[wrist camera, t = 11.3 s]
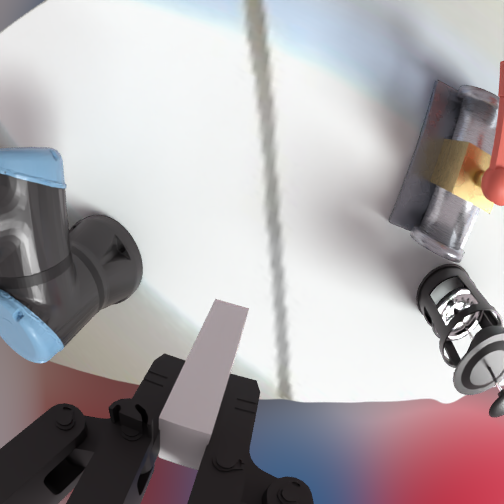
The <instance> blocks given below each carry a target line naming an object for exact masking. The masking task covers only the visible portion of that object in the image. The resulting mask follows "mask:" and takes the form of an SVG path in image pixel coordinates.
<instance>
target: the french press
mask: <svg viewBox="0 0 504 504" xmlns="http://www.w3.org/2000/svg"><path fill="white" fill-rule="evenodd" d="M452 277H458V278H459V279H460V280H461V281H462V283H463V284H464V287H461V288H458V289H455V290H453V291H451V292H449V293H448V294H447V295H445V296H444V297H443V298H442V299H441V300H440V301H439V303H438V304H437V305H435V303H434V301H433V300H432V298H431V296H430V294H431V293H432V291H433V290H434V289H435V288H436V287H437V286H438V285H439V284H440V283H442V282H443V281H445V280H447V279H449V278H452ZM417 305H418V308H419V310H420V312H421V313H422V314H423V315H424V317H425V319H426V321H427V323H428V324H429V325H430V326H431V327H432V329H433V332H434V333H435V335H436V336H437V337H438V338H440V342H439V348H440V352H441V354H442V357H443V359H444V361H445V362H446V364H448V365H449V366H451V367H453V368H456V369H455V372H454V376H453V382H454V386H455V388H456V390H457V391H458V392H460V393H462V394H465V395H473V394H478V393H481V392H484V391H486V390H488V389H490V388H492V387H493V386H495V385H496V386H497V388H498V390H499V393H498V396H499V398H498V399H497V400H496V401H495V402H494V403H493V404H492V406H491V407H490V410H489V415H490V416H491V417H499V416H502V415H504V389H503V390H502V389H501V387H500V385H499V382H500V381H501V380H502V379H503V378H504V328H503V321H502V318H501V316H500V315H499V313H498V312H497V311H496V310H495V308H494V307H492V306H491V305H490V304H489V303H488V302H487V300H486V299H485V298H484V297H483V295H482V294H481V293H480V292H479V291H478V289H477V288H476V286H475V284H474V283H473V281H472V280H471V279H470V277H469V275H468V273H467V272H466V271H465V270H464V269H463V268H462V267H460V266H457V265H454V264H447V265H442V266H439V267H437V268H436V269H434V270H432V271H431V272H430V273H429V274H428V275H427V276H426V277H425V278H424V279H423V281H422V282H421V284H420V286H419V289H418V292H417ZM491 311H493V312H495V313H496V314H497V318H496V317H495V316H494V314H493V313H492V312H491ZM497 319H498V320H497ZM478 323H479V325H480V326H481V328H482V329H481V330H480V331H479V332H478V333H476V335H475V336H474V337H473V335H472V334H471V331H472V330H473V329H474V328H475V327H476V326H477V325H478ZM467 334H469V336H470V337H471V339H472V342H471V344H470V346H469V349H468V351H467V353H466V354H465V355H464V356H463V358H462V359H461V360H460V357H459V355H458V353H457V351H456V349H455V347H454V345H453V343H452V341H453V340H458V339H460V338H462V337H464V336H466V335H467ZM444 348H445V350H446V352H447V354H448V356H449V359H448V358H446V357H445V356H444Z"/></svg>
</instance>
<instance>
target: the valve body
mask: <svg viewBox="0 0 504 504" xmlns="http://www.w3.org/2000/svg"><path fill="white" fill-rule="evenodd" d="M499 100H500V98H499V97H498V96H496V95H494V94H493V93H491V92H488V91H486V90H484V89H481V88H478V87H474V86H468V85H464V86H461V87H460V88H459V91H457V90H455V89H454V88H452V87H450V86H448V85H446V84H445V83H443V82H441V81H439V80H437V81H435V85H434V89H433V92H432V96H431V100H430V103H429V107H428V110H427V114H426V117H425V121H424V124H423V127H422V130H421V134H420V137H419V140H418V143H417V146H416V149H415V152H414V155H413V158H412V161H411V164H410V167H409V169H408V172H407V175H406V178H405V180H404V183H403V186H402V189H401V191H400V194H399V196H398V199H397V202H396V204H395V207H394V209H393V212H392V214H391V217H390V219H389V222H390V223H392V224H394V225H397V226H399V227H402V228H404V229H406V230H409V231H411V232H410V235H411V237H412V238H413V239H414V240H415V241H417V242H418V243H419V244H421V245H422V246H424V247H425V248H427V249H428V250H430V251H432V252H434V253H435V254H437V255H439V256H441V257H443V258H445V259H448V260H450V261H453V262H460V261H461V259H462V257H463V255H464V253H465V252H464V250H463V247H464V245H465V243H466V240H467V238H468V236H469V234H470V231H471V229H472V227H473V224H474V222H475V220H476V217H477V215H478V212H479V210H480V208H481V209H482V210H484V211H486V212H488V213H489V214H490V212H491V210H492V207H493V205H494V203H493V202H491V201H489V200H487V199H486V198H485V196H484V195H483V192H482V189H481V180H482V177H483V174H484V173H485V171H486V170H487V169H488V168H489V165H490V161H491V155H492V150H493V145H494V139H495V132H496V125H497V118H498V110H499Z"/></svg>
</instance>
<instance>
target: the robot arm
mask: <svg viewBox="0 0 504 504" xmlns="http://www.w3.org/2000/svg"><path fill="white" fill-rule="evenodd" d="M65 189H66V184H65V181H64V171H63V160H62V157H61V155H60V153H59V152H58V151H57V150H55V149H53V148H44V147H26V148H0V336H1V337H2V339H3V340H4V341H5V342H6V343H7V344H8V345H9V346H10V347H11V348H12V349H13V350H14V351H15V352H17V353H18V354H19V355H21V356H22V357H24V358H25V359H27V360H29V361H32V362H34V363H44V362H47V361H48V360H50V359H51V358H52V357H53V356H54V355H55V354H56V353H57V352H59V351H61V350H62V349H63V348H64V347H65V346H66V345H67V344H68V342H69V341H70V340H71V339H72V338H73V337H74V336H75V335H76V334H77V333H78V332H79V331H80V330H81V329H82V328H83V327H84V326H85V325H86V324H87V323H88V322H89V321H90V319H91V318H92V317H93V316H94V315H95V314H96V313H98V312H99V311H100V310H101V309H104V308H106V307H108V306H110V305H113V304H118V303H121V302H123V301H125V300H126V299H127V298H129V297H130V296H131V295H132V294H133V293H134V292H135V291H136V289H137V288H138V286H139V285H140V282H141V279H142V272H143V267H142V259H141V255H140V252H139V250H138V247H137V245H136V243H135V241H134V240H133V238H132V236H131V235H130V234H129V232H128V231H127V230H126V229H125V228H124V227H123V226H122V225H121V224H119V223H118V222H116V221H115V220H113V219H111V218H109V217H106V216H102V215H93V216H89V217H87V218H85V219H83V220H81V221H79V222H77V223H76V224H75V225H74V226H73V227H72V228H71V229H70V230H69V228H68V219H67V209H66V195H65ZM248 310H249V308H245V307H242V306H238V305H234V304H231V303H227V302H224V301H221V300H217V299H215V301H214V303H213V305H212V307H211V309H210V311H209V314H208V316H207V318H206V320H205V322H204V324H203V326H202V328H201V330H200V332H199V334H198V336H197V338H196V341H195V343H194V345H193V347H192V349H191V351H190V353H189V355H188V357H187V359H186V361H185V360H182V359H179V358H176V357H173V356H170V355H167V354H163V355H162V356H160V357H159V358H157V359H156V360H154V362H153V364H152V365H151V367H150V369H149V370H148V372H147V374H146V375H145V377H144V380H143V381H142V382H141V384H140V386H139V388H138V389H137V391H136V393H135V395H134V396H133V398H132V399H130V398H129V399H120V400H118V401H115V402H114V403H113V404H112V405H111V406H110V407H109V413H110V417H111V418H109V419H103V418H102V419H101V418H95V417H89V416H84V415H83V414H82V412H81V411H80V410H79V409H78V408H77V407H75V406H73V405H70V404H65V403H64V404H58V405H56V406H53V407H52V408H50V409H49V410H48V411H46V412H45V413H44V414H43V415H42V416H40V417H39V418H38V419H37V420H35V421H34V422H33V423H32V424H30V425H29V426H28V427H27V428H25V429H24V430H23V431H22V432H21V433H19V434H18V435H17V436H16V437H14V438H13V439H12V440H11V441H10V442H8V443H7V444H6V445H5V446H3V447H2V448H1V449H0V504H58V503H59V502H60V501H61V500H62V499H63V498H64V497H65V496H66V495H67V494H68V493H69V492H70V491H71V490H72V489H73V488H74V490H73V492H72V494H71V496H70V498H69V499H68V501H67V503H66V504H140V503H141V501H142V498H143V496H144V493H145V490H146V489H147V486H148V484H149V481H150V479H151V476H152V474H153V472H154V466H155V465H154V463H155V460H156V458H157V456H158V454H159V457H160V458H163V459H165V460H168V461H171V462H174V463H177V464H180V465H183V466H186V467H190V468H193V469H196V470H198V473H197V476H196V479H195V482H194V485H193V488H192V491H191V495H190V497H189V501H188V504H314V503H313V498H312V494H311V491H310V489H309V487H308V486H307V485H306V484H305V483H304V482H303V481H301V480H299V479H297V478H294V477H282V478H276V477H274V476H272V475H270V474H268V473H266V472H264V471H262V470H261V469H259V468H258V467H257V466H256V465H255V464H254V463H253V461H252V459H251V457H250V453H249V449H250V442H251V437H252V432H253V427H254V422H255V416H256V411H257V405H258V401H259V395H260V390H259V387H258V384H257V381H256V380H252V379H248V378H245V377H241V376H237V375H234V374H231V371H232V367H233V364H234V360H235V357H236V354H237V350H238V347H239V343H240V339H241V336H242V332H243V329H244V325H245V321H246V318H247V314H248Z"/></svg>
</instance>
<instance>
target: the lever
mask: <svg viewBox="0 0 504 504" xmlns="http://www.w3.org/2000/svg"><path fill="white" fill-rule="evenodd" d="M498 96H499V97H500V100H499V110H498V118H497V125H496V132H495V139H494V145H493V150H492V155H491V161H490V165H489V168H488V169H487V170H486V171H485V173H484V174H483V177H482V180H481V189H482V192H483V195H484V196H485V198H486V199H487V200H489V201H491V202H493V203H495V204H497V205H499V206H503V205H504V61H502V62H500V81H499V94H498Z"/></svg>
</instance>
